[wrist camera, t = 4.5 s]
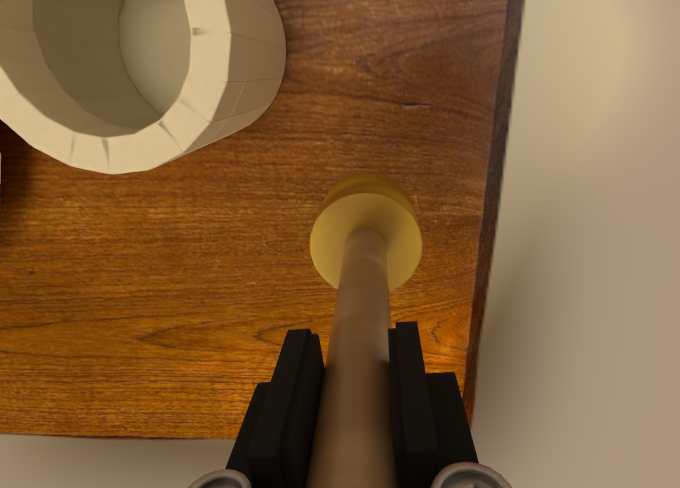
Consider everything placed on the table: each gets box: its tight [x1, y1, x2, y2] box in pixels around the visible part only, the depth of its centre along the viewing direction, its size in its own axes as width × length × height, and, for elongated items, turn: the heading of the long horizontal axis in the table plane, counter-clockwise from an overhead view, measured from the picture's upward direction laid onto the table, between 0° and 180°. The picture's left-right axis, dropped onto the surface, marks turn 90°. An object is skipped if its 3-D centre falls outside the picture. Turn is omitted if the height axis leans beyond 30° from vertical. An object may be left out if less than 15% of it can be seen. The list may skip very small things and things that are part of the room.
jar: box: [0, 0, 286, 174], centre depth 20 cm, size 10×10×11 cm
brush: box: [305, 172, 422, 488], centre depth 14 cm, size 5×5×18 cm
